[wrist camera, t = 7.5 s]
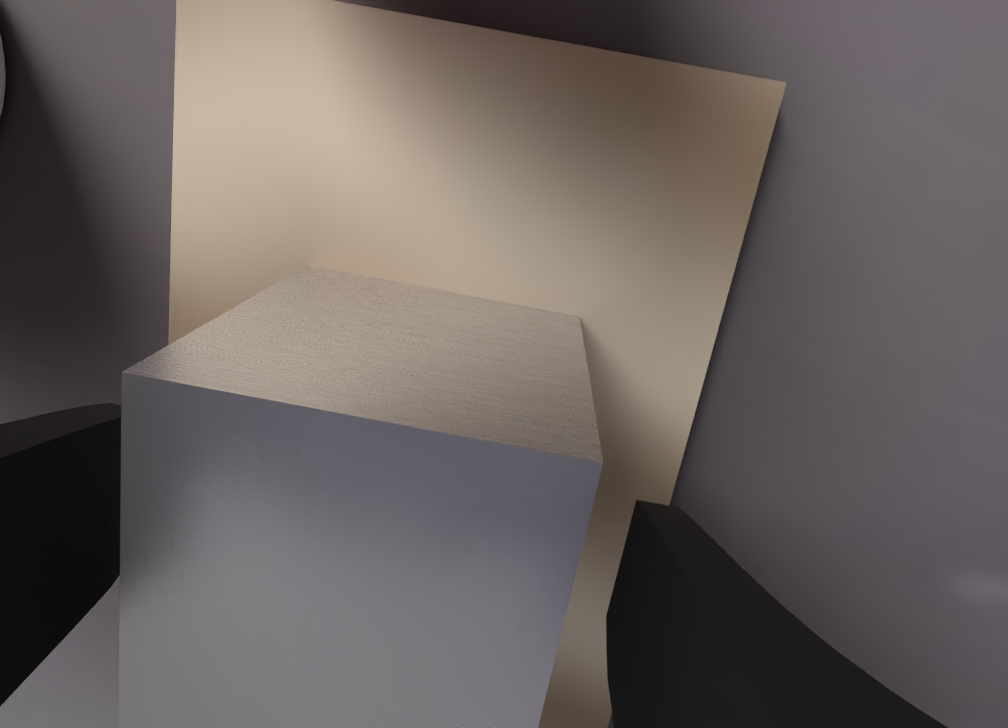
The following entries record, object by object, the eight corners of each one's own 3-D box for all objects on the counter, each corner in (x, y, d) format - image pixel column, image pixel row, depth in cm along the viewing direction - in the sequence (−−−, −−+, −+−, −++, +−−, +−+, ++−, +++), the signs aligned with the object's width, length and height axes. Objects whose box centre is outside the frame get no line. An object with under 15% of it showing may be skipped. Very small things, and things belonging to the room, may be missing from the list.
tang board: (599, 718, 17) (616, 907, 13) (178, 641, 17) (60, 806, 13) (772, 85, 12) (880, 65, 8) (199, -19, 12) (29, -90, 8)
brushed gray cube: (527, 551, 15) (514, 821, 9) (285, 506, 15) (118, 747, 9) (579, 316, 13) (602, 462, 7) (307, 265, 13) (121, 371, 7)
